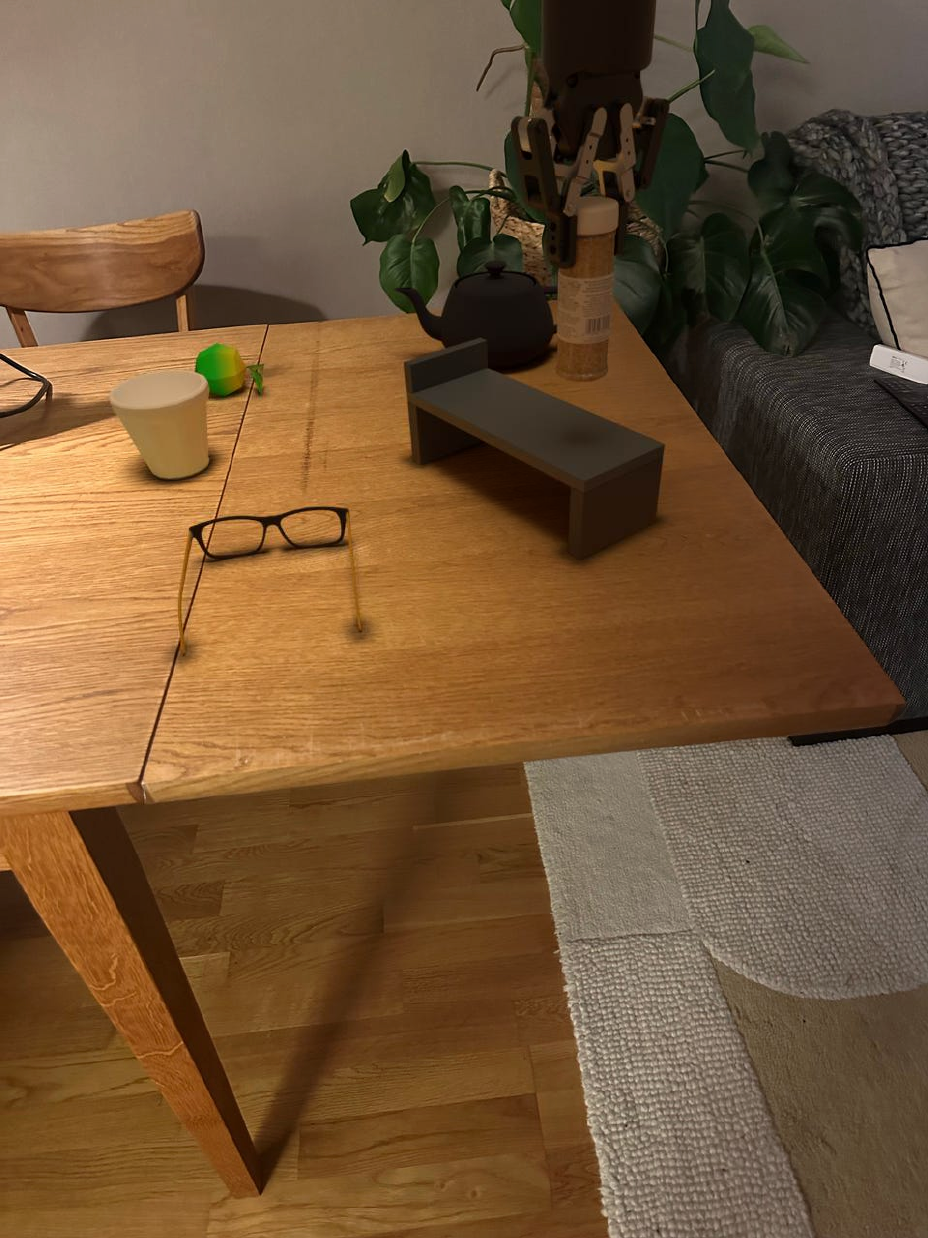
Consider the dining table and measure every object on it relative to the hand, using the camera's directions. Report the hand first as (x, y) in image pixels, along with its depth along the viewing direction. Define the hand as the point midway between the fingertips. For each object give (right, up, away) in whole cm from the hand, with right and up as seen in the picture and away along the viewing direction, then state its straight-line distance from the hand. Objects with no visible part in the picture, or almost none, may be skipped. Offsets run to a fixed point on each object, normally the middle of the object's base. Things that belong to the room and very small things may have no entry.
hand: (586, 258), depth 63 cm
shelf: (-4, -15, +20) cm, 25 cm away
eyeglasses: (-26, -26, +7) cm, 37 cm away
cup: (-41, -12, +26) cm, 50 cm away
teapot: (-6, +8, +48) cm, 49 cm away
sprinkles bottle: (0, -7, +6) cm, 10 cm away
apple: (-40, +1, +43) cm, 58 cm away
